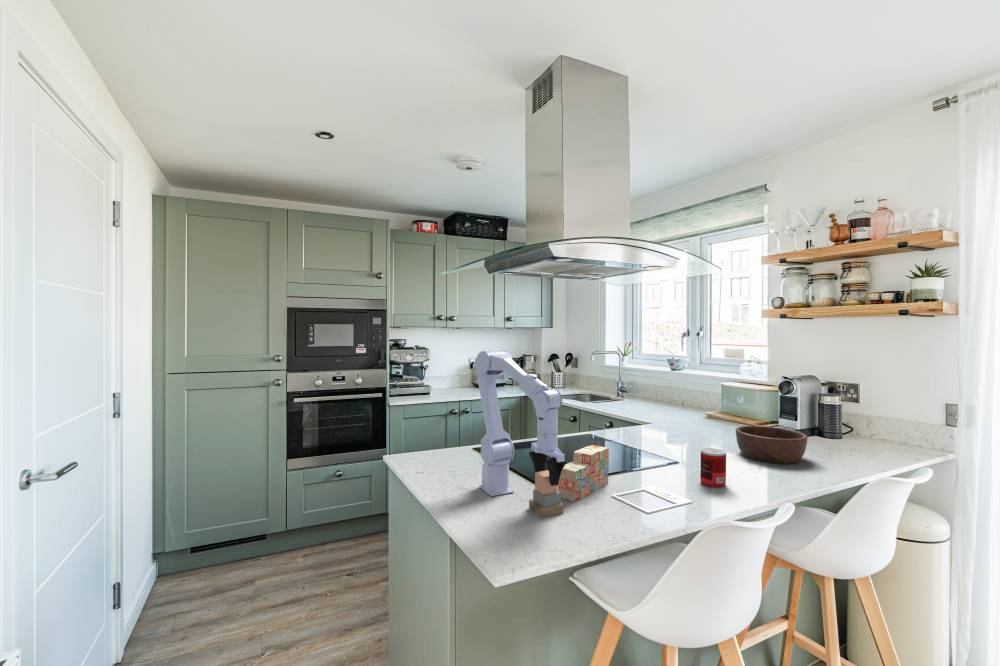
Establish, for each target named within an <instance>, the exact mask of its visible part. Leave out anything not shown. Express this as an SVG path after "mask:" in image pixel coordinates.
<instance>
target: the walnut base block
mask: <svg viewBox="0 0 1000 666" xmlns="http://www.w3.org/2000/svg"><path fill="white" fill-rule="evenodd" d="M564 506H565V505H564V503H563V502H561V504H556V505H552V506H548V507H543V506H541V505H540V504H538V503H536V502H534V501H533V498H530V499H528V509H531V512H533V513H534V514H536V515H537V516H539V517H540V518H546V517H548V518H549V517H552V516H557V515H561V514H564Z"/></svg>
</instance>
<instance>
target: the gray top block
mask: <svg viewBox="0 0 1000 666" xmlns="http://www.w3.org/2000/svg"><path fill="white" fill-rule="evenodd" d="M532 491H533V492H532V499H533V501H534V502H536V503H538V504H540V505H541V506H543V507H548V506H552V505H556V504H561V503H562V498H561V493H560V492H558V490H557V493H552V494H547V495H543V494H541V493H539V492H538V491H536V490H535V489H533V490H532Z"/></svg>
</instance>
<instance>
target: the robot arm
mask: <svg viewBox="0 0 1000 666" xmlns="http://www.w3.org/2000/svg"><path fill="white" fill-rule="evenodd" d="M474 364H475V369H476V376H477V381H478V382H477V383H478V388H479V389H478V391H479V394H480V401H481V402H480V403H481V405H482V406H481V407H482V414H483V418H484V419H483V420H484V424H485V425H484V426H485V431H486V433H485V434H484V436H483V437H482V438H481V439H480V445H481V446H480V457H481V460H482V461H483V464H482V466H481V484H480V485H479V486H478V487H479V488H480V489H481V490H483V491H484V492H485V493H486V494H488V495H489V496H490V497H495V496H501V495H507V494H512V493H514V492H515V490H514V489H512V488H510V482H509V481H510V463H511V462H512V461H511V460H512V458H513V457H514V456H515V451H516V450H515V446H514V443H513V442H512V439H511V435H510V434H509V433H508V432H507V431H506V430H504V425H503V420H502V415H501V408H500V402H499V397H498V391H497V385H496V382H497V380H498V377H500V376H501V375H502V374H503V373H505V374H507V375H508V376H509V377H510V378H512V379H513V380H514V381H516V382H518V384H519V386H518V387H519V390H520V391H521V392H523V393H524V394H525V395H527V397H528V398H530V400H531V401H532V404H533V407H534V409H535V415H536V417H537V418H536V419H537V421H536V423H537V424H536V425H537V426H536V427H537V430H536V431H537V432H536V442H531V444H530V445H531V447H530V448H531V450H532V451H529V453H528V455H529V457H530V459H531V461H532V465H533V467H534V468H533V469H534V473H535V472H540V471H546V467H547V470H549V479H550V485H551V486H554V485H557V486H558V483H559V479H560V475H561V472H562V470H563V468H564V466H565V465H566V464H567V460H566V459H565V453H563V452H562V451H561V450H560V448H559V447H558V436H559V435H558V431H559V430H558V429H559V428H558V423H559V422H558V420H559V419H558V418H559V411H558V410H559V409H560V408H561V406H562V405H563V396H562V394H561V392H560V391H559V390H558V389H557V388H551V387H549V386H548V385H547V384H545V383H544V382H542V381H541V380H540V379H539V378H538V375H536V374H532V373H528V374H527V372H525V371H524V370H523V369H522V368H521V367H520V366H519V365H518V364H517V362H515V360H513V357H512V355H511V354H510V353H509V352H507V351H506V350H504V349H503V350H495V351H492V350H489V351H485V350H481V351H480V352H479V353H478V354H477V356H476V357H475V360H474ZM548 457H550V458H551V459H547V458H548Z"/></svg>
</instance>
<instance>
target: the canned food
mask: <svg viewBox="0 0 1000 666" xmlns="http://www.w3.org/2000/svg"><path fill="white" fill-rule="evenodd" d="M700 483H701V485H703V486H705V487H708V486H709V487H708V488H716V489H717V488H719V489H720V488H724V487H725V486H726V484H727V452H726V451H725V450H722V449H720V448H714V447H713V448H712V447H707V448H706V447H705V448H701V449H700Z"/></svg>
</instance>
